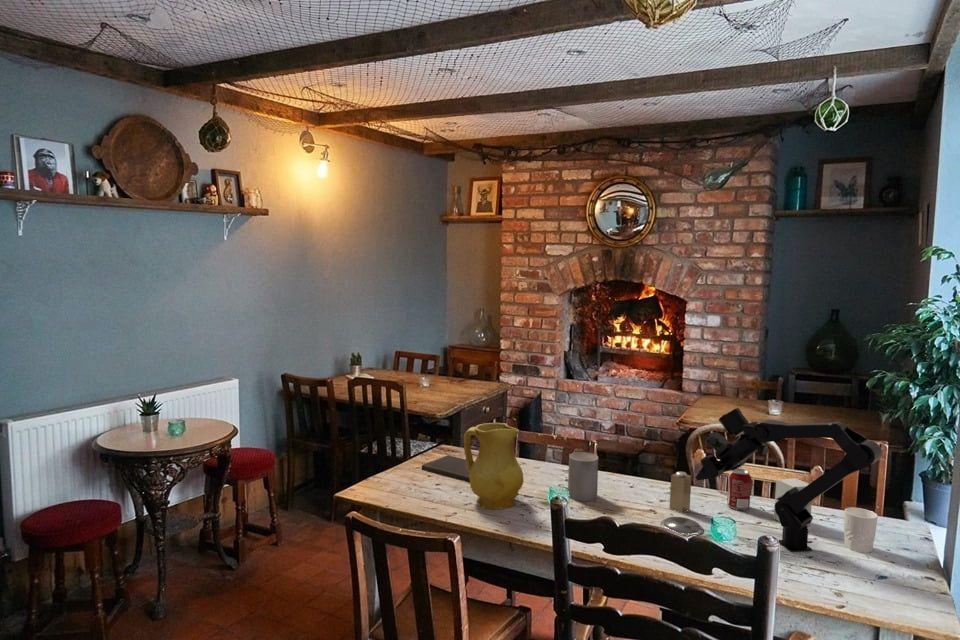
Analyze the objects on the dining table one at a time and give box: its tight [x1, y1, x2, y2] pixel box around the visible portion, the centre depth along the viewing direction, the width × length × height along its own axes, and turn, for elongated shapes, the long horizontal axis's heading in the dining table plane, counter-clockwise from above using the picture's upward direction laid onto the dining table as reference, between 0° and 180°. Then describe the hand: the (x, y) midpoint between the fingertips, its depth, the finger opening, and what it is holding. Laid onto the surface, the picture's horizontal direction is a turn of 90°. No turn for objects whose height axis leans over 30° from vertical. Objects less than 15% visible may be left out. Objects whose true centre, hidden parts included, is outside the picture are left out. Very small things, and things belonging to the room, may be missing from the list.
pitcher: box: [463, 422, 524, 510], centre depth 204 cm, size 17×19×25 cm
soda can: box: [726, 467, 752, 511], centre depth 204 cm, size 7×7×12 cm
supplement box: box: [773, 477, 813, 527], centre depth 193 cm, size 7×7×13 cm
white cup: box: [843, 507, 879, 554], centre depth 176 cm, size 8×8×10 cm
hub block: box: [669, 471, 692, 514], centre depth 201 cm, size 4×4×12 cm
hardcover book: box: [421, 454, 470, 483], centre depth 234 cm, size 16×23×2 cm
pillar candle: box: [567, 451, 599, 502], centre depth 210 cm, size 10×10×15 cm
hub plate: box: [659, 516, 704, 537], centre depth 187 cm, size 12×12×1 cm
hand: (703, 475), depth 195 cm, fingers open, 9 cm apart
